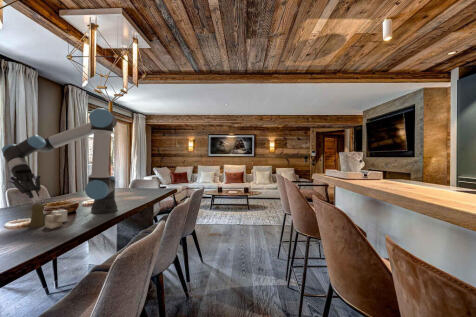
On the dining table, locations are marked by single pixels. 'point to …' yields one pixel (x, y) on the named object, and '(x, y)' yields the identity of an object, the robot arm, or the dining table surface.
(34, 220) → the olive green tall block
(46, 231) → the dining table surface
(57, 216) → the birch block numbered 1
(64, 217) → the cream block numbered 7
